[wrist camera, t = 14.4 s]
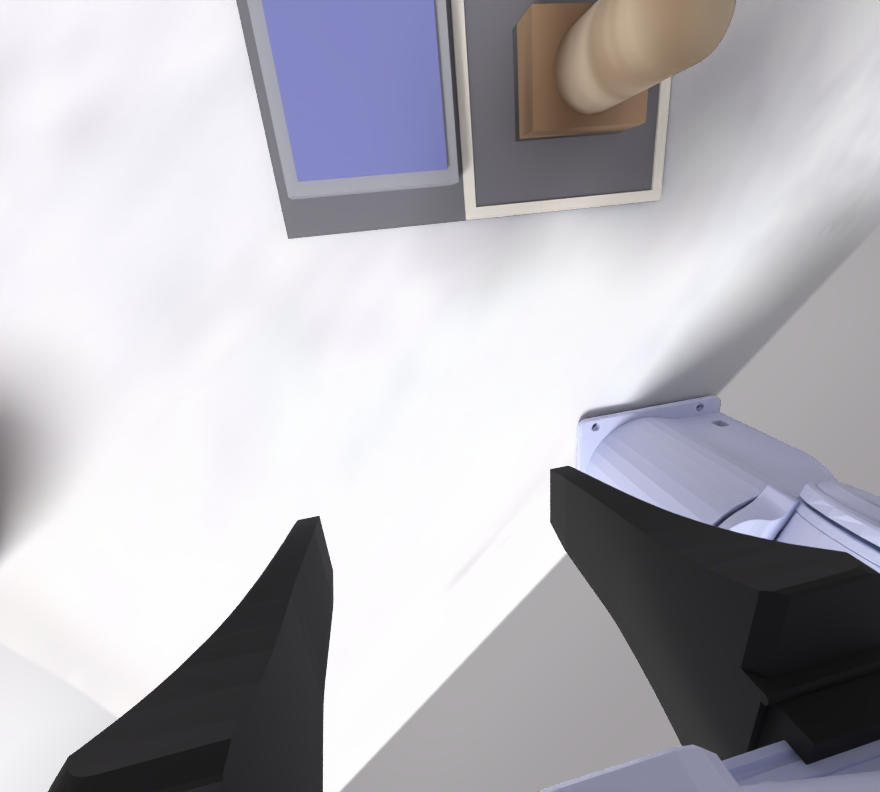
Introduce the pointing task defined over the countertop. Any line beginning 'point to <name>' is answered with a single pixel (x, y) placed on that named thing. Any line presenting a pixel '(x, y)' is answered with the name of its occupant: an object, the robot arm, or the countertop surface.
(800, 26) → the countertop surface
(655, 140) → the stamp mat
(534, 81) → the stamp
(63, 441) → the countertop surface
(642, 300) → the countertop surface
